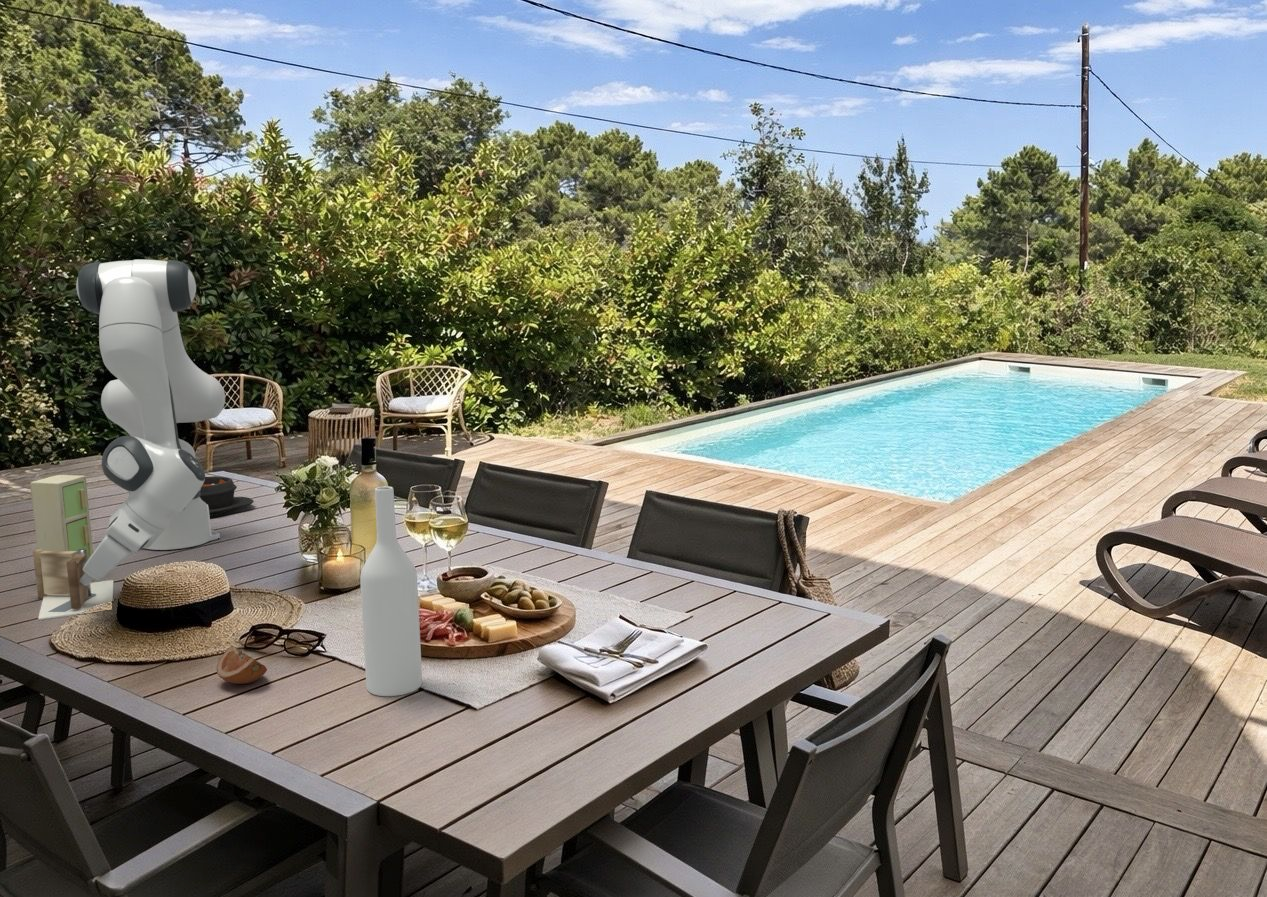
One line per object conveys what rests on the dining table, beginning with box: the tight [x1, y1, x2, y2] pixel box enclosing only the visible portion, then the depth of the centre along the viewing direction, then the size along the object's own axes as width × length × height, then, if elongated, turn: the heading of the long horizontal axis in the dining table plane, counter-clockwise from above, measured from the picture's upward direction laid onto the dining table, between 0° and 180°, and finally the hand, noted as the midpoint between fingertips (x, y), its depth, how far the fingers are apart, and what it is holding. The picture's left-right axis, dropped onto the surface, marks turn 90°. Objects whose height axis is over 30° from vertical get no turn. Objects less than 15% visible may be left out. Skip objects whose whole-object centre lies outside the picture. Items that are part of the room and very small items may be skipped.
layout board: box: [37, 579, 114, 621], centre depth 199 cm, size 21×12×1 cm, turn 26°
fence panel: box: [66, 554, 88, 609], centre depth 194 cm, size 8×2×9 cm, turn 16°
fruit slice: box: [216, 644, 268, 685], centre depth 156 cm, size 8×7×5 cm
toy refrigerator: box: [29, 474, 94, 559], centre depth 212 cm, size 8×7×21 cm
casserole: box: [200, 476, 254, 516], centre depth 273 cm, size 25×19×8 cm
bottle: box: [359, 485, 423, 697], centre depth 152 cm, size 8×8×30 cm
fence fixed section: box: [32, 548, 91, 599], centre depth 200 cm, size 10×2×10 cm, turn 86°
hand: (84, 581), depth 194 cm, fingers closed, pressing on fence panel
